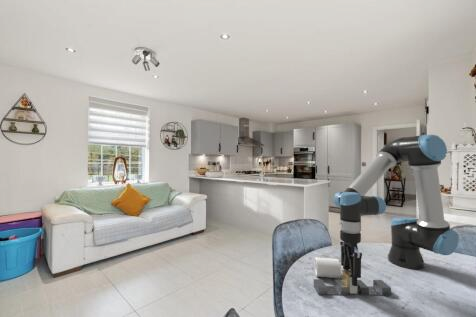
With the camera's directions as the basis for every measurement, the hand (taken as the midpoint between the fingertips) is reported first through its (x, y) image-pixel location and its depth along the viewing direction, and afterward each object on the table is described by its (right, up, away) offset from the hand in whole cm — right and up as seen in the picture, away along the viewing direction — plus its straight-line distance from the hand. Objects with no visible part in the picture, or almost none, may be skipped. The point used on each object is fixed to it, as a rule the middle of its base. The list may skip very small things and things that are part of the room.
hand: (350, 289), depth 91 cm
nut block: (0, 0, 0) cm, 0 cm away
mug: (-4, -1, +14) cm, 15 cm away
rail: (0, -1, 0) cm, 1 cm away
